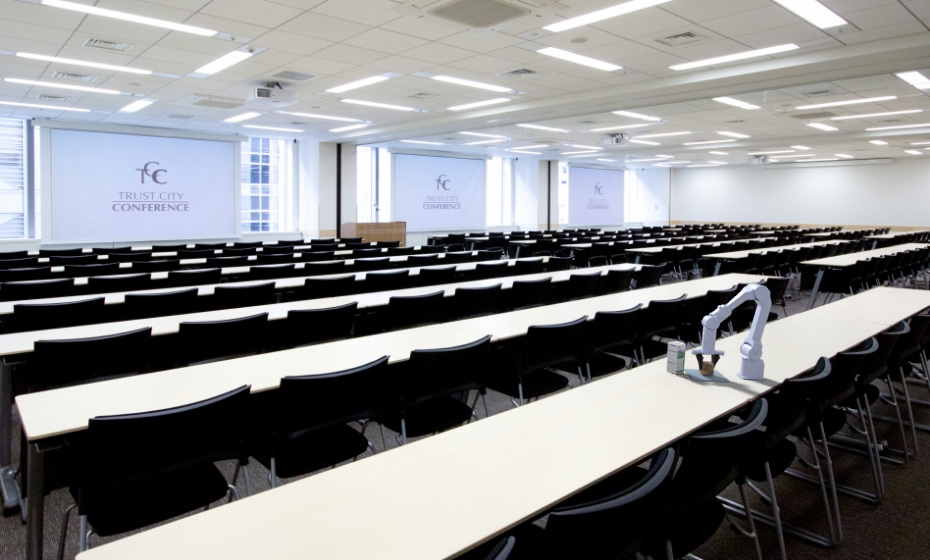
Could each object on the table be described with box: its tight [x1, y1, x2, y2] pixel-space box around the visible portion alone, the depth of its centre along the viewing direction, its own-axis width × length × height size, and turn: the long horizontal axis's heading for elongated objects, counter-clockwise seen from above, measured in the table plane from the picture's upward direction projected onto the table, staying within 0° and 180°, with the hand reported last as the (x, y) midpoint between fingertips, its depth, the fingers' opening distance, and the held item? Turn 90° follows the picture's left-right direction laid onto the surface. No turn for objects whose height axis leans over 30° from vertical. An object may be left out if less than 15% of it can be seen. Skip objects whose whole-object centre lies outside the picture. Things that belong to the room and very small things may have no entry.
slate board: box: [684, 368, 731, 383], centre depth 274 cm, size 16×16×1 cm
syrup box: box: [666, 340, 687, 375], centre depth 278 cm, size 6×6×14 cm
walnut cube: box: [698, 360, 715, 375], centre depth 273 cm, size 5×5×5 cm
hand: (706, 369), depth 274 cm, fingers closed on walnut cube, 5 cm apart
